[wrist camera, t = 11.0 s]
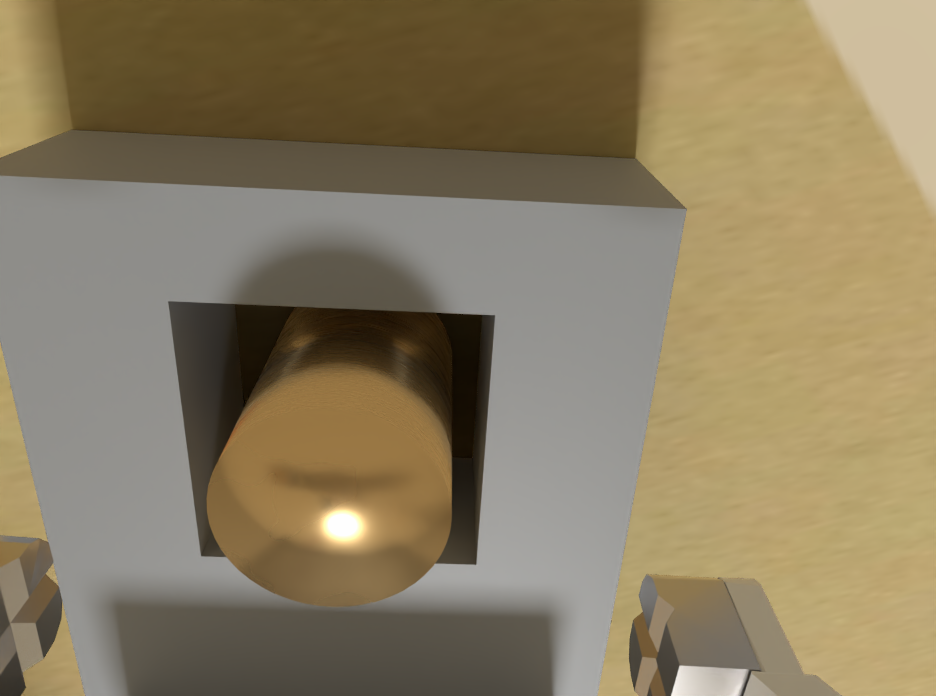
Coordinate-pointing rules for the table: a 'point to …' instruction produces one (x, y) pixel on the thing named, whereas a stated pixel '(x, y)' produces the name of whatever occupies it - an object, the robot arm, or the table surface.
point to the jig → (221, 401)
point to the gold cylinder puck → (341, 459)
